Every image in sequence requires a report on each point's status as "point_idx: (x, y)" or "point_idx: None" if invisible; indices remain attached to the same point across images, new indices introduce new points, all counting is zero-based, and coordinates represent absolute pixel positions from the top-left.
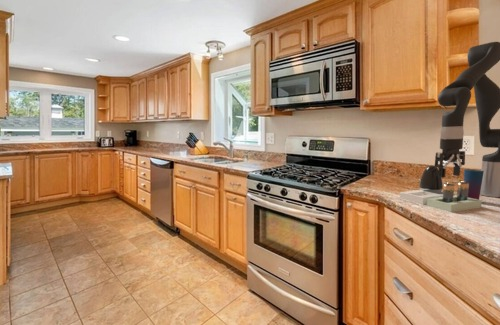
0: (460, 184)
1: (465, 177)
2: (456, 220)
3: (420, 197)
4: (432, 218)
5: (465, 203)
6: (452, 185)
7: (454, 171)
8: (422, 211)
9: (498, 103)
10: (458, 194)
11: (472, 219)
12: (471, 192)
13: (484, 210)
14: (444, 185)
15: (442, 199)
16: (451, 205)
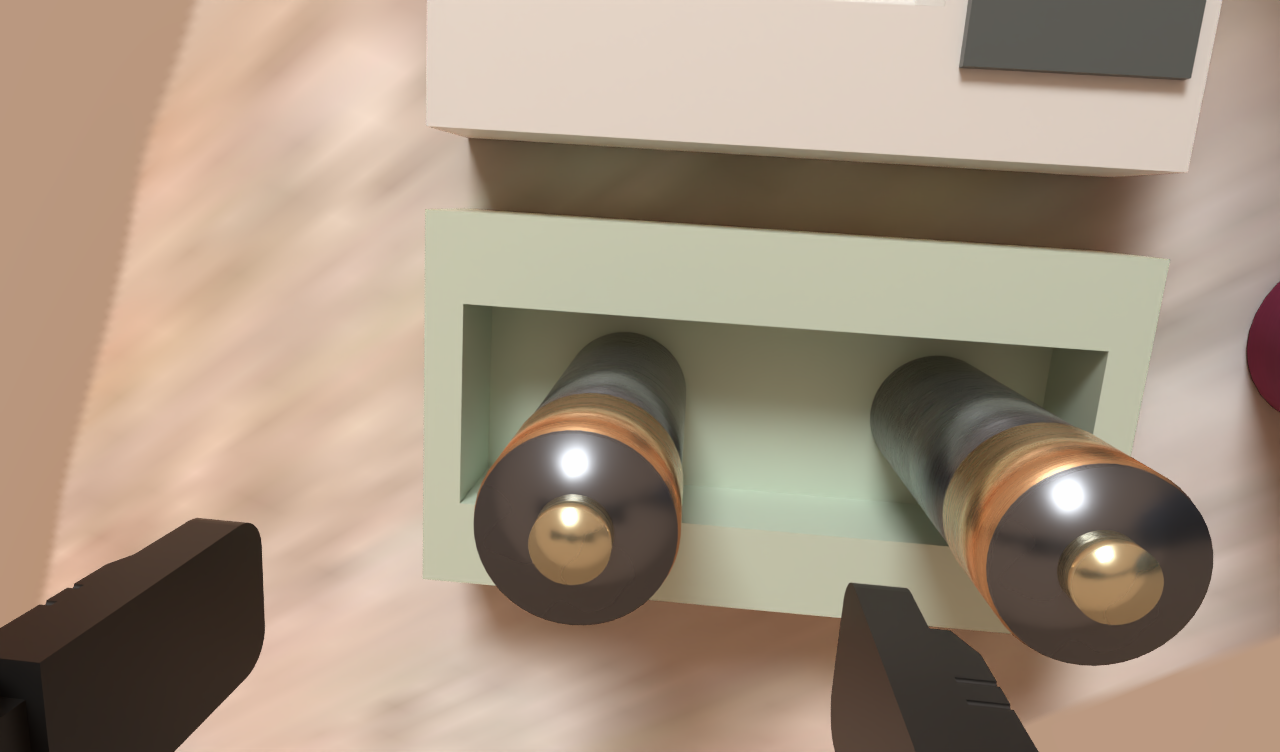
0: (976, 547)
1: None
2: (274, 688)
3: (428, 71)
4: (99, 542)
5: (722, 600)
6: (548, 613)
7: (863, 680)
8: (222, 322)
9: None
10: (920, 443)
11: (460, 742)
12: None
13: (979, 637)
14: (484, 480)
15: (563, 373)
16: (434, 573)
